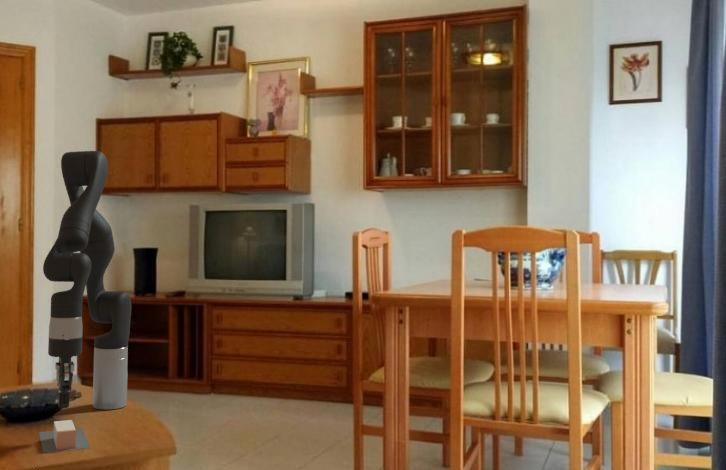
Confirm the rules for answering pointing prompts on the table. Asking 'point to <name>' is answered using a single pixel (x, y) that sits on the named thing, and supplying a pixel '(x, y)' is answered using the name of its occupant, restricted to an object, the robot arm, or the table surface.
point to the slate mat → (50, 447)
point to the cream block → (64, 434)
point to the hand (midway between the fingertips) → (63, 407)
